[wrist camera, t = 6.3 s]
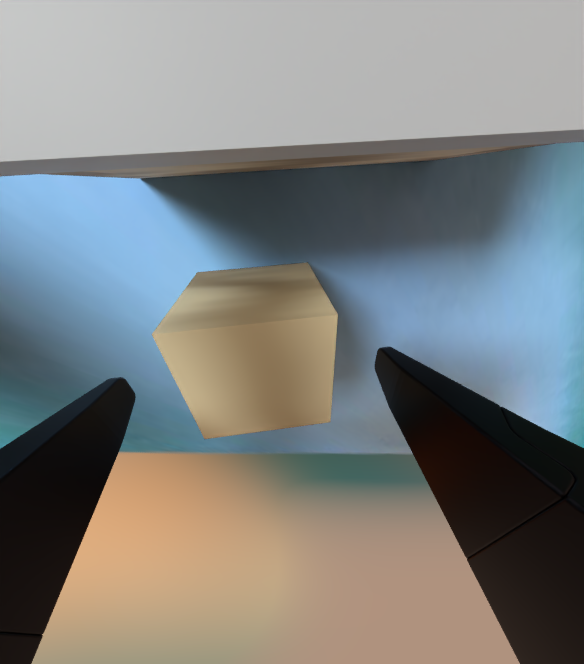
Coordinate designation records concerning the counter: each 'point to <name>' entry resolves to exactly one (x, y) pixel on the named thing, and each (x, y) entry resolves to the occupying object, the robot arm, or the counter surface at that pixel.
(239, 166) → the crate
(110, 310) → the counter surface
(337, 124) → the lid
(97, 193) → the counter surface
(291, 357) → the block
